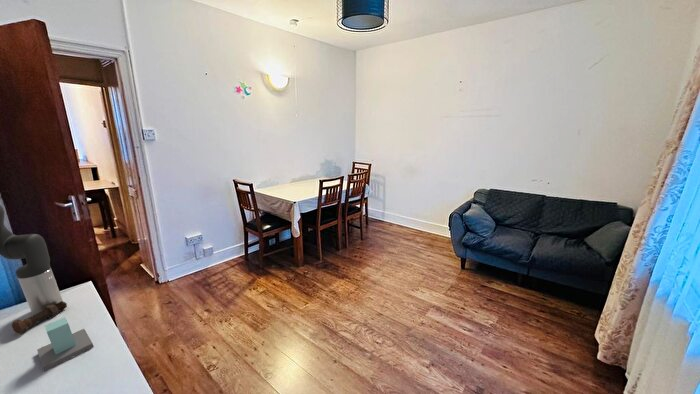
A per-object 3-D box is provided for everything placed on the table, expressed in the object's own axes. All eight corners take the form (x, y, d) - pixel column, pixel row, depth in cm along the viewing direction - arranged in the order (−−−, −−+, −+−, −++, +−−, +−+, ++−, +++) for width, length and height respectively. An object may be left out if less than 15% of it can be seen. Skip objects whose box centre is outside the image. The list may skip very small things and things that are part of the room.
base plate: (38, 353, 95) (34, 342, 94) (85, 331, 105) (81, 321, 103) (44, 371, 88) (39, 359, 87) (93, 346, 98) (89, 335, 96)
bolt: (68, 312, 119) (21, 337, 105) (59, 305, 119) (10, 329, 105) (70, 302, 117) (22, 326, 103) (61, 295, 118) (11, 319, 103)
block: (53, 347, 96) (44, 325, 93) (73, 338, 99) (65, 317, 97) (55, 354, 93) (46, 332, 90) (76, 345, 96) (68, 323, 94)
